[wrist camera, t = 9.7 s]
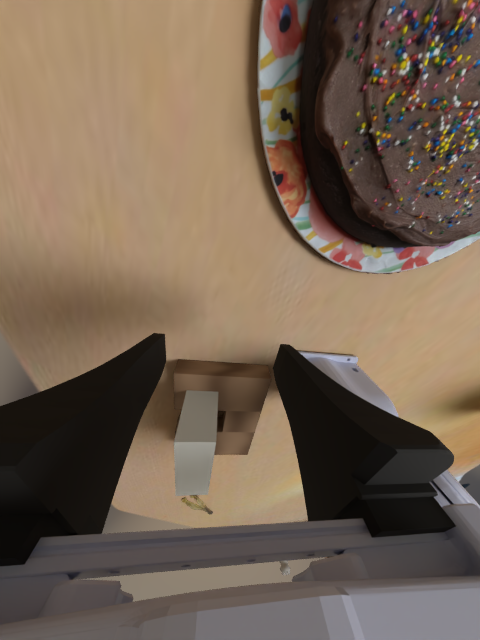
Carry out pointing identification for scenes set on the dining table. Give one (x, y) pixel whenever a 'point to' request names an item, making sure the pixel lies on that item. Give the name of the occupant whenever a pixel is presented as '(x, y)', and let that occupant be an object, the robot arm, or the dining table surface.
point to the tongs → (197, 507)
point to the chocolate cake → (373, 126)
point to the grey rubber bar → (195, 443)
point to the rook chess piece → (285, 567)
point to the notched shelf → (227, 398)
